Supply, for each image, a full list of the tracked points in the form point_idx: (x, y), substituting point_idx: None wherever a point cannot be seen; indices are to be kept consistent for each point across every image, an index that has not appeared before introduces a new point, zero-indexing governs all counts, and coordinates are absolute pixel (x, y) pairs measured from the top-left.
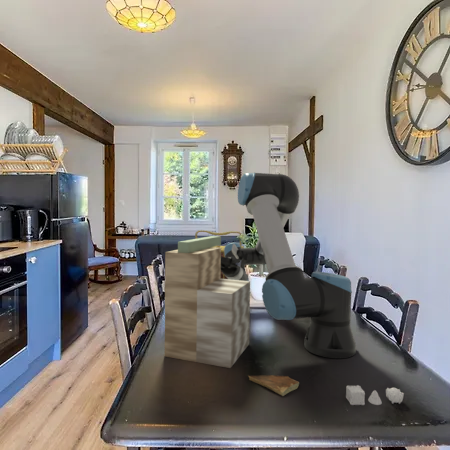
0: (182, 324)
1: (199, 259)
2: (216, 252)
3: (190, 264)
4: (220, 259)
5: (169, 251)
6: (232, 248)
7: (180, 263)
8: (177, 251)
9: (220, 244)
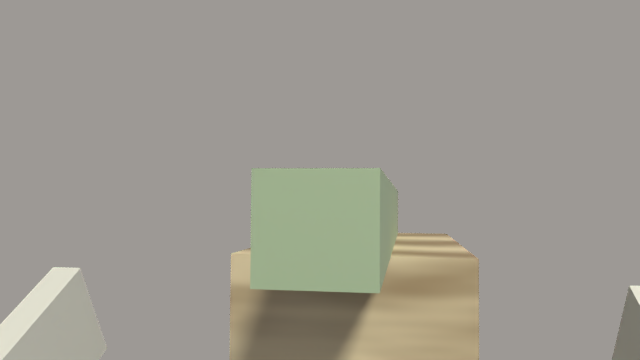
0: None
1: None
2: None
3: None
4: (231, 343)
5: (444, 235)
6: (91, 319)
7: None
8: (414, 235)
9: (254, 280)
